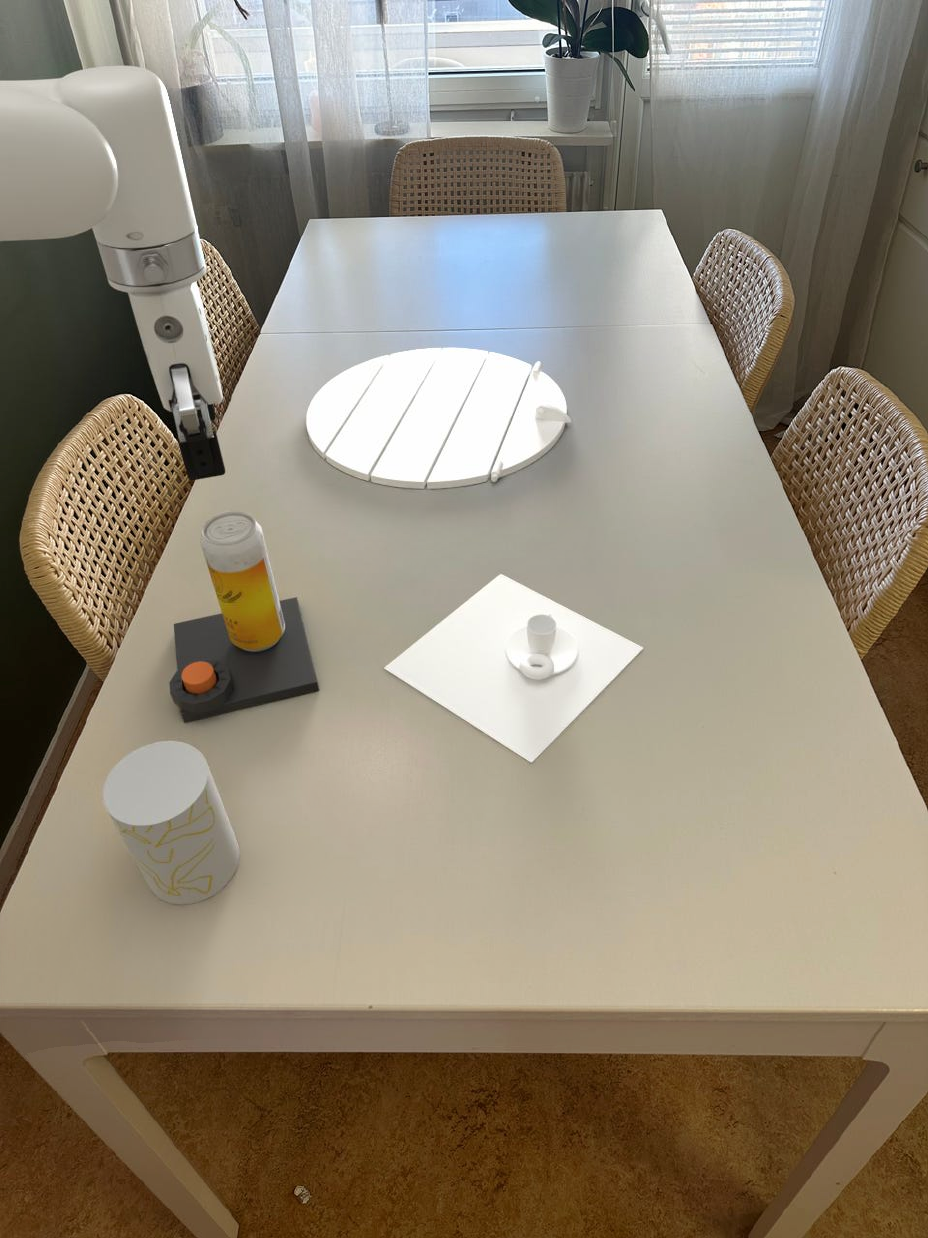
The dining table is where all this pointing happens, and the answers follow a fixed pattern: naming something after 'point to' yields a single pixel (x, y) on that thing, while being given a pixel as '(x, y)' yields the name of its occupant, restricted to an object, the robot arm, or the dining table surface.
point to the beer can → (243, 580)
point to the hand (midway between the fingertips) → (203, 447)
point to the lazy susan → (436, 418)
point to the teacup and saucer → (515, 664)
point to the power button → (199, 677)
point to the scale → (242, 666)
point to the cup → (173, 821)
